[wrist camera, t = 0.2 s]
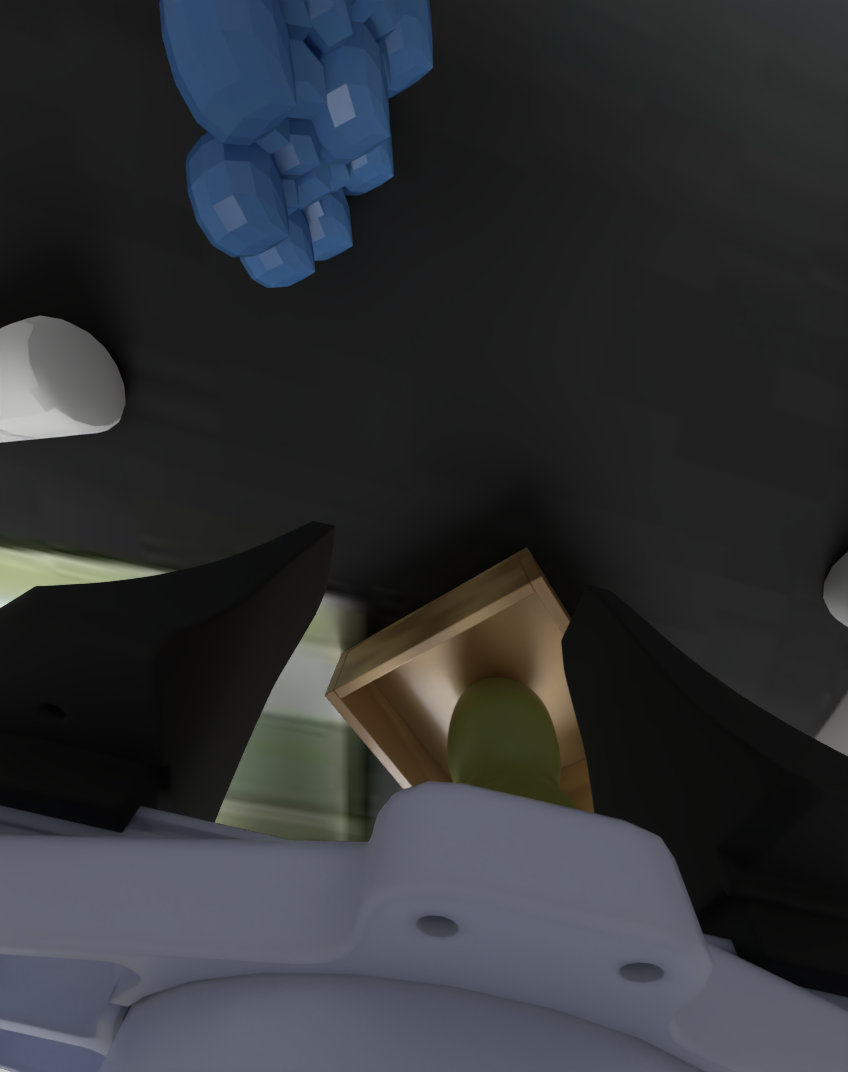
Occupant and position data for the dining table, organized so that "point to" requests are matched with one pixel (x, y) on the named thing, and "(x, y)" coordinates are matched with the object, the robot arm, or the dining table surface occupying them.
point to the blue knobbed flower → (290, 117)
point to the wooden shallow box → (460, 672)
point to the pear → (505, 742)
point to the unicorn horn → (55, 381)
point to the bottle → (838, 590)
